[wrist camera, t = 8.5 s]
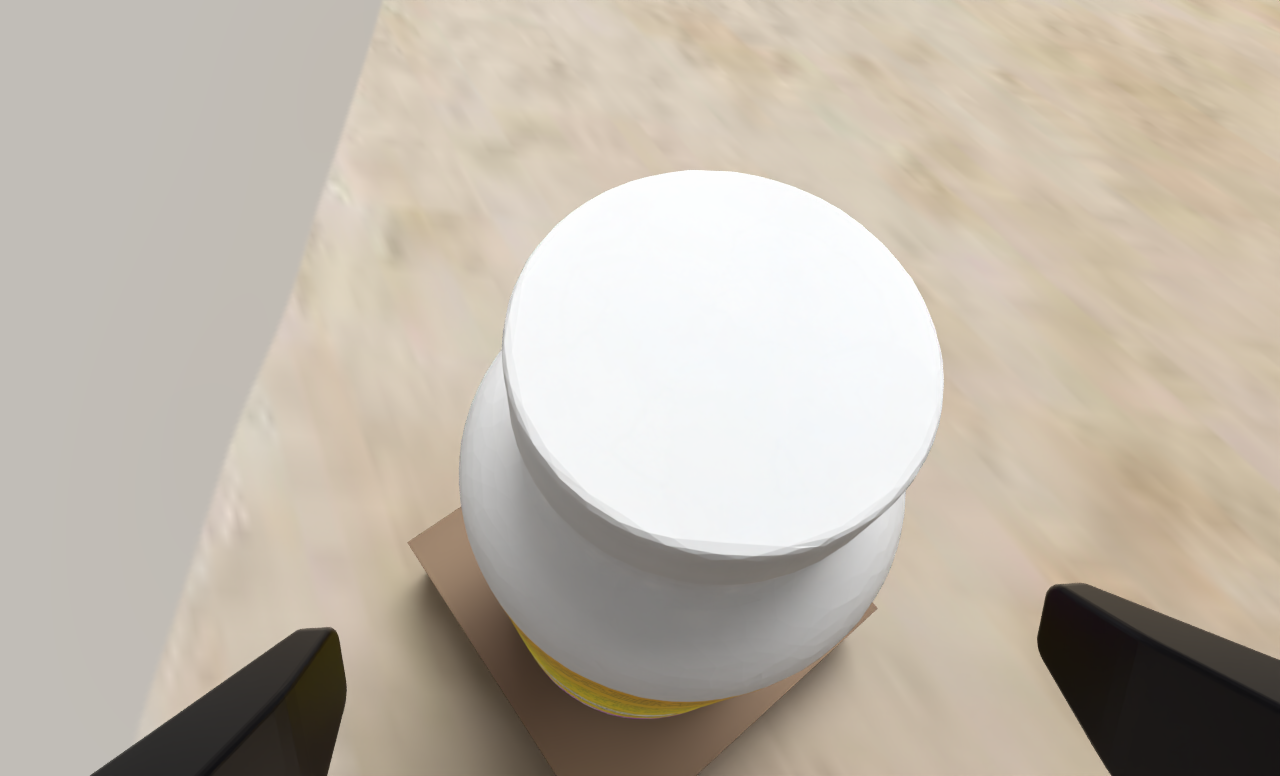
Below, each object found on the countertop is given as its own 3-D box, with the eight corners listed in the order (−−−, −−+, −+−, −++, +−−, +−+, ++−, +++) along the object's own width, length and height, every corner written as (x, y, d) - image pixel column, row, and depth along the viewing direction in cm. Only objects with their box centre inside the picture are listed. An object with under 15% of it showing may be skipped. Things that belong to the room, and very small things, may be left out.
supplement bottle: (708, 771, 17) (958, 845, 5) (468, 645, 18) (244, 479, 6) (800, 525, 20) (1091, 229, 8) (588, 427, 21) (585, 39, 9)
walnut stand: (842, 624, 22) (877, 608, 19) (605, 840, 19) (607, 856, 16) (659, 409, 24) (667, 368, 22) (430, 567, 22) (407, 542, 19)
